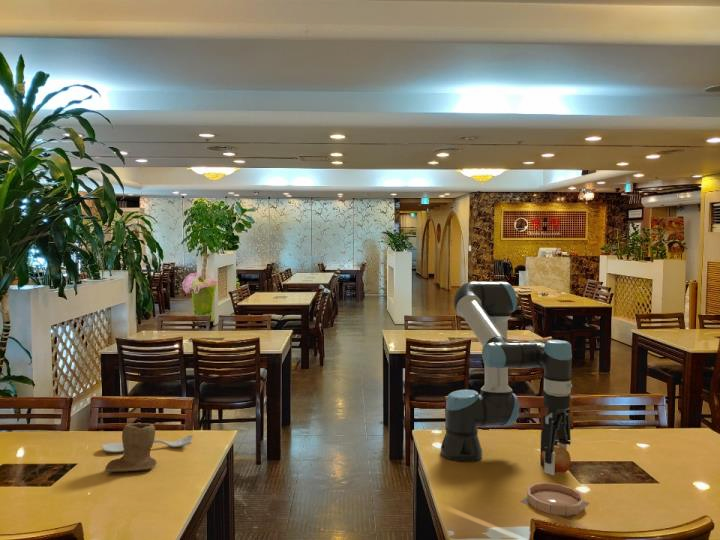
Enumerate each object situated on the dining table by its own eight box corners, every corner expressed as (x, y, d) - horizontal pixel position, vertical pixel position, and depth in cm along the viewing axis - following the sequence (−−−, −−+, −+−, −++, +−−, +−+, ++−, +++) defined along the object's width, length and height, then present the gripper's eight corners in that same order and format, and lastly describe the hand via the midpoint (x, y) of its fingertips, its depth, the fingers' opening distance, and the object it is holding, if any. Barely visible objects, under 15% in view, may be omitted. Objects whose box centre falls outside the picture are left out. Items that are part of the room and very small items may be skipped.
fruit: (569, 459, 159) (570, 442, 155) (570, 482, 152) (571, 464, 148) (541, 456, 161) (541, 438, 157) (541, 478, 155) (541, 460, 151)
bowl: (517, 502, 154) (518, 493, 154) (541, 486, 166) (541, 478, 166) (570, 521, 144) (570, 512, 144) (591, 502, 155) (591, 494, 155)
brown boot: (159, 459, 186) (159, 418, 185) (153, 473, 174) (153, 429, 174) (113, 462, 182) (113, 420, 182) (104, 476, 171) (104, 431, 170)
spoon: (191, 450, 196) (191, 441, 196) (98, 457, 188) (98, 447, 188) (193, 442, 204) (193, 433, 204) (104, 448, 197) (104, 438, 197)
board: (520, 504, 155) (520, 501, 155) (540, 490, 165) (541, 487, 165) (570, 523, 144) (570, 519, 144) (589, 506, 155) (589, 503, 155)
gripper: (554, 402, 144) (553, 483, 144) (583, 389, 159) (582, 463, 159) (528, 397, 149) (527, 475, 149) (559, 385, 164) (558, 456, 164)
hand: (555, 469), depth 154 cm, fingers closed on fruit, 8 cm apart
